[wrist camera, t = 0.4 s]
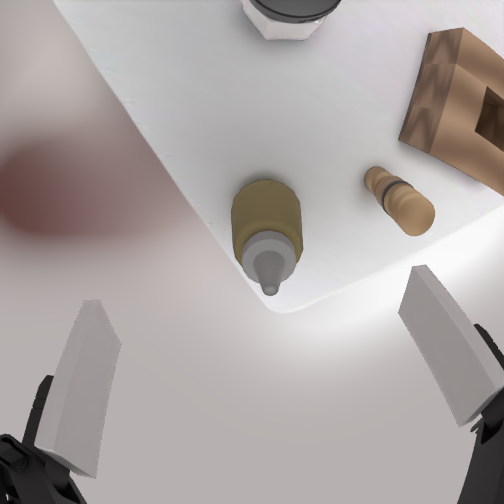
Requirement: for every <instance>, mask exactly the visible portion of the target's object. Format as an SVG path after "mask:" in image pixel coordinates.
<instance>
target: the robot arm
mask: <svg viewBox="0 0 504 504" xmlns="http://www.w3.org/2000/svg"><path fill="white" fill-rule="evenodd" d="M398 314H399V315H400V317H401V318H402V320H403V322H404V323H405V325H406V327H407V329H408V330H409V332H410V334H411V336H412V337H413V339H414V341H415V342H416V344H417V346H418V348H419V350H420V351H421V353H422V355H423V357H424V359H425V361H426V363H427V364H428V366H429V368H430V370H431V372H432V374H433V375H434V377H435V379H436V381H437V383H438V385H439V387H440V389H441V391H442V393H443V395H444V397H445V399H446V401H447V403H448V405H449V407H450V409H451V411H452V414H453V416H454V418H455V420H456V422H457V424H458V426H459V427H461V426H463V425H465V424H467V423H469V422H471V421H473V420H474V419H475V418H476V417H477V416H478V415H479V414H480V413H481V414H482V418H481V419H480V420H479V421H478V422H477V423H476V424H475V425H474V426H473V427H472V428H471V431H470V432H473V431H474V430H475V429H476V428H478V430H477V431H476V432H475V433H476V434H477V437H476V441H475V446H474V450H473V454H472V458H471V462H470V465H469V469H468V472H467V476H466V479H465V482H464V485H463V488H462V491H461V494H460V497H459V500H458V503H457V504H504V355H503V354H502V352H501V351H500V350H498V347H497V345H496V344H495V343H494V342H493V339H492V338H491V336H490V335H489V334H488V332H487V331H486V330H485V329H484V328H482V327H481V326H480V325H478V324H474V325H473V324H472V323H471V321H470V320H469V318H468V317H467V316H466V314H465V313H464V312H463V310H462V309H461V308H460V306H459V305H458V304H457V302H456V301H455V300H454V299H453V297H452V296H451V295H450V294H449V292H448V291H447V290H446V288H445V287H444V286H443V285H442V284H441V282H440V281H439V280H438V279H437V277H436V276H435V275H434V274H433V273H432V271H431V270H430V269H429V268H428V267H427V265H420V266H413V267H412V270H411V273H410V277H409V280H408V284H407V287H406V290H405V293H404V297H403V300H402V303H401V306H400V309H399V312H398ZM120 346H121V343H120V341H119V339H118V337H117V335H116V333H115V331H114V329H113V327H112V325H111V323H110V321H109V319H108V316H107V314H106V312H105V310H104V308H103V306H102V304H101V301H100V300H85V301H84V302H83V305H82V307H81V309H80V311H79V314H78V316H77V318H76V321H75V323H74V326H73V328H72V330H71V333H70V335H69V338H68V340H67V343H66V345H65V348H64V350H63V353H62V356H61V359H60V361H59V364H58V367H57V369H56V372H55V375H54V376H51V375H47V376H46V377H45V378H44V380H43V381H42V382H41V384H40V386H39V388H38V391H37V394H36V399H35V400H34V403H33V406H32V407H33V409H31V413H30V416H29V419H28V422H27V426H26V430H25V433H24V437H23V440H22V443H20V442H19V441H18V440H16V439H15V438H14V437H12V436H11V435H9V434H3V435H0V504H87V503H86V501H85V499H84V498H83V496H82V495H81V493H80V491H79V490H78V488H77V486H76V484H75V483H74V481H73V480H72V479H71V477H70V476H69V473H70V470H71V471H72V472H74V473H76V474H77V475H80V476H85V477H90V478H95V479H96V473H97V465H98V457H99V451H100V445H101V444H100V443H101V438H102V432H103V426H104V421H105V415H106V410H107V405H108V399H109V395H110V390H111V385H112V380H113V376H114V372H115V368H116V363H117V359H118V355H119V351H120ZM6 494H7V495H8V499H9V500H8V501H7V497H6Z"/></svg>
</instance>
